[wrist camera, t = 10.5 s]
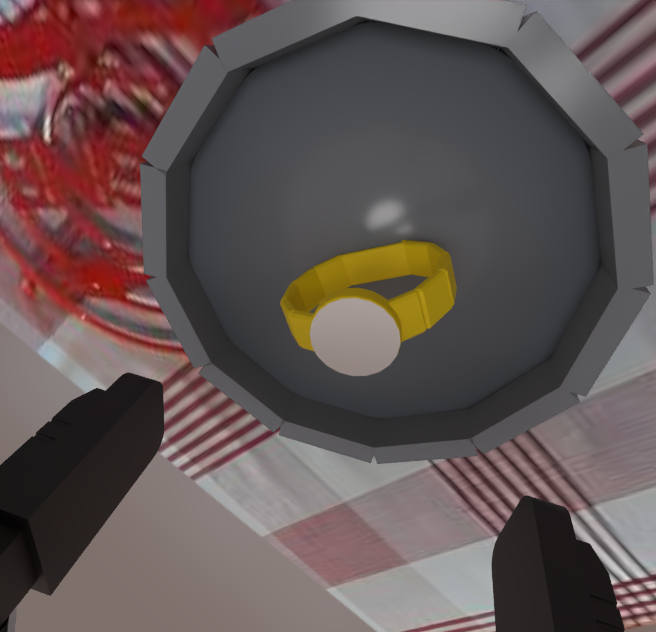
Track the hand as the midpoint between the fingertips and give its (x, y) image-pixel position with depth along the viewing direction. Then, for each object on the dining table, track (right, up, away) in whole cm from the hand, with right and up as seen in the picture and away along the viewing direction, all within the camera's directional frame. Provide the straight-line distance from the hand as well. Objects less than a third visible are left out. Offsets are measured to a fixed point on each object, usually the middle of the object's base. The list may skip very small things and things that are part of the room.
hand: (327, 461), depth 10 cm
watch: (+2, +5, +9) cm, 10 cm away
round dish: (+2, +6, +9) cm, 11 cm away
